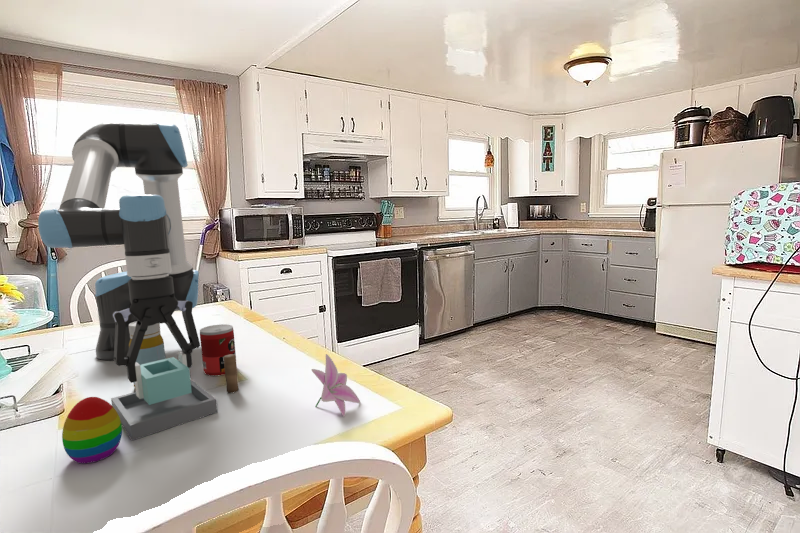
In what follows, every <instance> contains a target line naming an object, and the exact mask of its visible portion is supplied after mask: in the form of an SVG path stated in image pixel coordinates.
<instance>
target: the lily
mask: <svg viewBox="0 0 800 533" xmlns="http://www.w3.org/2000/svg"><path fill="white" fill-rule="evenodd" d="M324 369H325V370H324V371H322V370H320V369H315V368H312V369H311V372H312V373H313V375H315V376H316V378H317V379H318V380H319V381H320V382H321V384H322V385H323V386H322V388H323V389H322V391H321V396H320V397H319V399H318V401H317V403H316V404H315V408H317V406H319V403H320V401H321V402H323V403H328V402H335V404H336V406H337V408H338V409H339V411H340V413H341V414H342V417H343V418H345V417H346V402H350V403H355V404H360V403H361V400H360V398H359V396H358V395H357V394H356V392H355V391H354V390H353V389H352V388H351V387H350V386H348V385H347V383H348V382H347V381H348V375H347V373H346V372H345V373H344V372H339V371H338V368H337V366H336V364H335V363H334V361H333V360H332V358H331V357H330V355H329V354H327V353H326V354H325V368H324Z"/></svg>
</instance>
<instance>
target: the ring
mask: <svg viewBox="0 0 800 533" xmlns="http://www.w3.org/2000/svg"><path fill="white" fill-rule="evenodd" d="M140 368H141V378H142V386H143V394H144V398H143V399H144V400H145V401H146V402H147V403H148V404H149V405H151V404H154V403H158V402H161V401H165V400H168V399H172V398H175V397H179V396H182V395H185V394H189V393H192V391H191V381H190V379H191V372H190V368H188V367H187V366H185V365H184V364H182V363H181V362H180V361H179V359H177V358H176V357H175V356H172V357H168V358H166V359H163V360H158V361H154V362H150V363H146V364H141V365H140Z"/></svg>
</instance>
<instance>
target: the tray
mask: <svg viewBox="0 0 800 533" xmlns="http://www.w3.org/2000/svg"><path fill="white" fill-rule="evenodd" d="M190 381H191V391H192V393H189V394H185V395H182V396H179V397H175V398H172V399H168V400H165V401H161V402H158V403H154V404H151V405H149V404H148V403H147V402H146V401H145V400H144V399H143V398H142V399H139V398H138V397H137V396H136V391H133V392H130V393H126V394H121V395H118V396H114V397H112V398H110V400H111V401H110V402H111V405H112V406H113V407H114V409H115V410H116V411H117V413H118V415H119V417H120V420H121V424H122V429H124V431H125V432H126V433H127V435H128V436H129V438H130V440H131V441H134V440H138V439H141V438H144V437H148V436H150V435H153V434H156V433H158V432H162V431H165V430H168V429H171V428H174V427H177V426H180V425H183V424H186V423H189V422H192V421H195V420H197V419H200V417H201V418H204V417H206V415H207V416H210V415H213V414H216V413H218V406H217V405H218V404H217V398H216V397H214V396H213V395H212V394H211V393H209V392H208V391H207V390H205V388H203V387H202V386H200V385H199V384H198V383H196V381H194V380H193V379H191V378H190ZM215 412H216V413H215ZM212 413H213V414H212ZM209 414H210V415H209ZM203 416H204V417H203ZM182 423H183V424H182ZM179 424H180V425H179ZM170 427H171V428H170Z"/></svg>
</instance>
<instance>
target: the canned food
mask: <svg viewBox="0 0 800 533" xmlns="http://www.w3.org/2000/svg"><path fill="white" fill-rule="evenodd" d="M234 332H235V330H234V326H233V325H231V324H227V323H226V324H224V323H223V324H221V323H220V324H213V325H208V326H205V327H202V328H200V329H199V342H200V350H201V359H202V365H203V366H202V368H203V373H204V374H205V375H207V376H209V375H210V376H209V377H218V375H220V376H224V375H225V367H224V356H226V355H229V354H235V355H236V344H235V343H236V342H235V333H234ZM236 356H237V355H236Z"/></svg>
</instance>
